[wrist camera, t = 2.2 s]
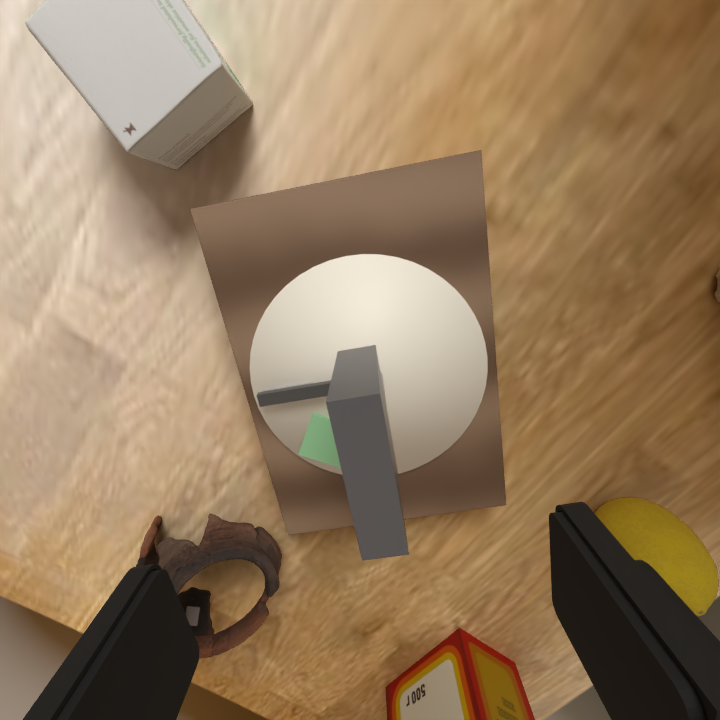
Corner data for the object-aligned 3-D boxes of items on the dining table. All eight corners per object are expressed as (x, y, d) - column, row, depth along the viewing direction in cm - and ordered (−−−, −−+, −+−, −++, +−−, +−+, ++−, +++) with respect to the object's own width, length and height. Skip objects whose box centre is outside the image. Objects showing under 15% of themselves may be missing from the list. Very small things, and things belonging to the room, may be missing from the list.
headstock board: (213, 212, 21) (190, 209, 18) (464, 161, 20) (481, 149, 17) (296, 503, 27) (288, 535, 24) (491, 475, 26) (506, 505, 23)
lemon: (562, 536, 28) (635, 649, 20) (574, 473, 26) (660, 571, 19) (637, 537, 28) (738, 650, 20) (655, 473, 26) (773, 571, 19)
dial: (221, 279, 19) (218, 280, 19) (476, 231, 18) (478, 231, 18) (282, 489, 23) (281, 493, 23) (494, 458, 22) (496, 462, 22)
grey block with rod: (246, 345, 20) (156, 429, 11) (373, 323, 19) (380, 393, 11) (274, 443, 22) (216, 579, 13) (391, 425, 21) (408, 554, 13)
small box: (258, 104, 20) (224, 64, 15) (177, 174, 21) (123, 157, 16) (182, -9, 18) (119, -93, 13) (99, 72, 19) (14, 21, 14)
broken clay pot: (149, 476, 27) (150, 542, 20) (273, 478, 32) (309, 532, 25) (116, 629, 28) (106, 745, 21) (242, 608, 33) (269, 697, 26)
